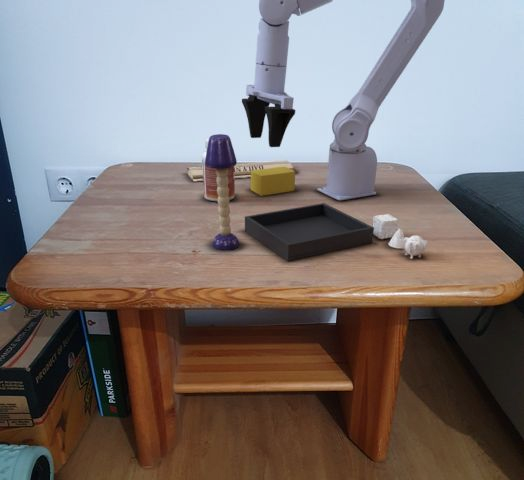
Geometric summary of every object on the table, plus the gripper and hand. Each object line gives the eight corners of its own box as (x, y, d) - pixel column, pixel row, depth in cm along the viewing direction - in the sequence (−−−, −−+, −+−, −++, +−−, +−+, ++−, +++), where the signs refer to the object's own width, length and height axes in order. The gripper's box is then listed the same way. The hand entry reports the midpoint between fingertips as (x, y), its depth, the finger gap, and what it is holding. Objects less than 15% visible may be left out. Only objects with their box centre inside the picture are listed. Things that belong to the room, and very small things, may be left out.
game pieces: (369, 234, 90) (372, 215, 88) (386, 231, 91) (389, 213, 89) (409, 261, 81) (413, 241, 79) (428, 258, 82) (432, 238, 80)
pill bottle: (240, 199, 105) (240, 140, 99) (213, 204, 102) (211, 144, 96) (225, 191, 110) (223, 134, 104) (198, 196, 107) (195, 138, 101)
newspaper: (283, 166, 127) (284, 158, 126) (294, 173, 122) (295, 165, 121) (187, 173, 121) (186, 165, 120) (193, 181, 115) (193, 173, 114)
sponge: (283, 185, 114) (284, 166, 112) (294, 190, 111) (295, 171, 108) (250, 190, 111) (250, 170, 108) (261, 196, 107) (261, 176, 105)
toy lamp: (227, 253, 82) (224, 140, 73) (203, 247, 85) (197, 136, 75) (244, 243, 86) (243, 134, 77) (220, 237, 88) (217, 131, 79)
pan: (323, 216, 97) (324, 202, 96) (372, 242, 87) (374, 227, 86) (244, 231, 91) (244, 216, 89) (287, 261, 80) (288, 244, 79)
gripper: (234, 58, 101) (230, 134, 108) (272, 69, 90) (265, 151, 98) (266, 60, 104) (260, 133, 111) (306, 70, 94) (297, 150, 101)
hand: (264, 142), depth 105 cm, fingers open, 7 cm apart
